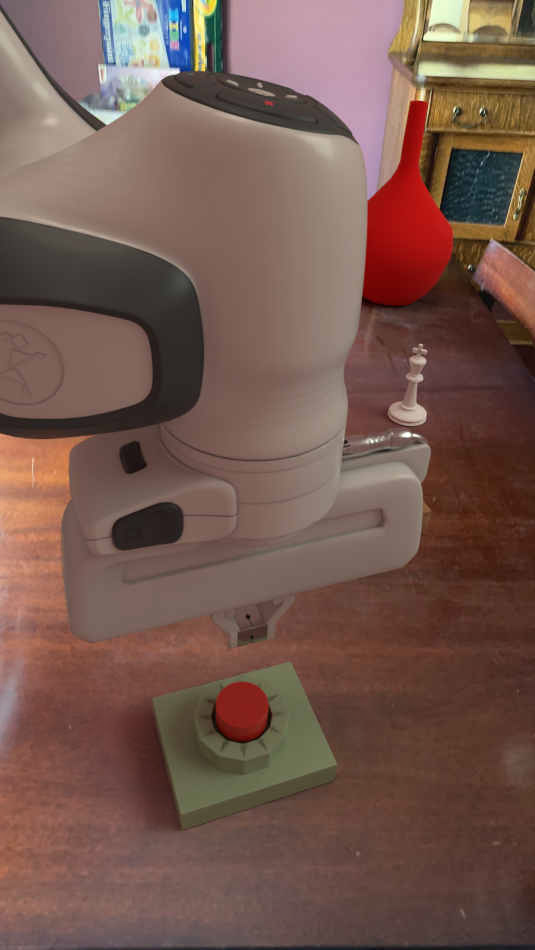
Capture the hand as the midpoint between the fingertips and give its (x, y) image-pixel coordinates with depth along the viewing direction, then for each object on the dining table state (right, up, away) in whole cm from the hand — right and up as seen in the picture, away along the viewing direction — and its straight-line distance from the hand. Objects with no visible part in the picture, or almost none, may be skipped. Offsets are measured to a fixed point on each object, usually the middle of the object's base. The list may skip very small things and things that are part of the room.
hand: (247, 635), depth 42 cm
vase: (+22, +41, +76) cm, 89 cm away
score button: (-1, -7, +5) cm, 9 cm away
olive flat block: (-1, -10, +7) cm, 12 cm away
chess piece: (+19, +17, +45) cm, 52 cm away
